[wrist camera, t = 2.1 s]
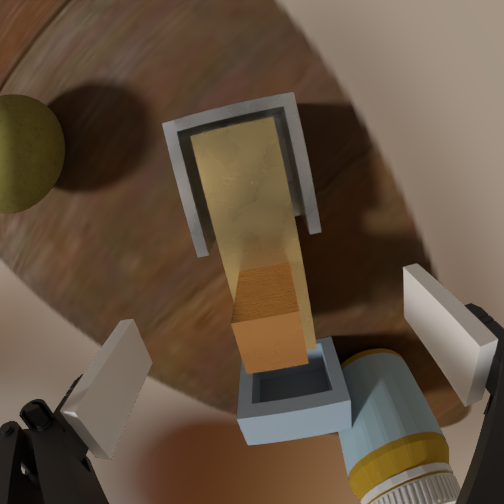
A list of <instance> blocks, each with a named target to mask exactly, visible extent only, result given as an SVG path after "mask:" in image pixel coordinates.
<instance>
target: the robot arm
mask: <svg viewBox="0 0 504 504" xmlns="http://www.w3.org/2000/svg"><path fill="white" fill-rule="evenodd" d="M403 278H404V318H405V319H406V321H407V322H408V323H409V325H410V326H411V327H412V329H413V330H414V332H415V333H416V334H417V336H418V337H419V339H420V340H421V341H422V343H423V344H424V346H425V347H426V348H427V350H428V351H429V353H430V354H431V356H432V357H433V359H434V360H435V362H436V363H437V364H438V366H439V367H440V369H441V370H442V372H443V373H444V375H445V376H446V378H447V379H448V381H449V382H450V384H451V385H452V387H453V389H454V390H455V392H456V393H457V395H458V396H459V398H460V399H461V401H462V403H463V404H464V406H465V407H466V406H468V405H470V404H473V403H475V402H477V401H479V400H481V399H482V397H483V394H484V391H485V388H486V389H487V390H488V391H489V393H490V397H489V401H488V403H487V406H486V409H485V411H484V414H485V417H484V421H483V425H482V429H481V432H480V436H479V439H478V443H477V446H476V449H475V453H474V456H473V458H472V461H471V465H470V467H469V470H468V473H467V476H466V478H465V481H464V483H463V486H462V488H461V491H460V493H459V496H458V498H457V501H456V503H455V504H504V329H503V328H502V327H501V326H500V325H499V324H498V323H497V322H496V321H494V319H493V318H492V317H491V316H488V314H487V313H486V312H485V311H484V310H483V309H482V308H481V307H478V306H476V305H474V304H472V303H471V304H467V305H463V304H462V303H461V302H460V301H459V300H458V299H457V298H456V297H454V296H453V295H452V294H451V293H450V292H449V291H448V290H447V289H446V288H445V287H444V286H442V285H441V284H440V283H439V282H438V281H437V280H436V279H435V278H433V277H432V276H431V275H430V274H429V273H428V272H427V271H425V270H424V269H423V268H422V267H421V266H420V265H419V264H412V265H408V266H404V267H403ZM152 363H153V362H152V360H151V358H150V356H149V354H148V351H147V349H146V347H145V345H144V343H143V340H142V338H141V336H140V333H139V331H138V329H137V327H136V324H135V322H134V319H129V320H122V321H120V322H119V324H118V325H117V326H116V328H115V329H114V331H113V332H112V333H111V335H110V336H109V338H108V339H107V341H106V342H105V343H104V345H103V346H102V348H101V349H100V351H99V352H98V354H97V355H96V357H95V358H94V359H93V361H92V362H91V364H90V365H89V367H88V368H87V370H86V371H85V373H84V374H82V375H81V376H80V377H78V378H77V380H75V381H74V383H73V384H72V386H71V387H70V390H68V392H67V393H66V396H64V398H63V399H62V401H61V403H60V404H59V405H58V407H57V408H56V410H55V412H54V413H52V411H51V410H50V408H49V407H48V406H47V404H46V403H45V401H44V400H41V399H36V400H32V401H30V402H29V403H27V404H26V405H25V406H24V407H23V408H22V410H21V412H20V417H21V418H22V420H23V421H24V422H25V424H26V425H27V426H28V428H29V429H23V430H22V428H21V427H20V426H19V424H18V423H17V422H15V421H10V422H7V423H5V424H3V425H2V426H1V428H0V504H109V502H108V501H107V498H106V496H105V494H104V492H103V490H102V488H101V485H100V483H99V481H98V478H97V476H96V474H95V471H94V469H93V467H92V465H91V462H90V460H89V459H88V457H87V456H86V454H87V451H88V449H89V450H90V451H91V452H92V453H93V455H94V456H95V457H96V458H101V459H110V460H111V459H112V457H113V454H114V451H115V449H116V447H117V444H118V442H119V440H120V437H121V434H122V432H123V430H124V427H125V425H126V423H127V420H128V418H129V416H130V413H131V411H132V409H133V406H134V404H135V402H136V399H137V397H138V395H139V392H140V390H141V388H142V386H143V383H144V381H145V379H146V377H147V374H148V372H149V370H150V368H151V365H152ZM21 466H22V467H23V468H24V469H25V474H23V473H22V471H21Z"/></svg>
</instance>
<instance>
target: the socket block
mask: <svg viewBox="0 0 504 504" xmlns="http://www.w3.org/2000/svg"><path fill="white" fill-rule="evenodd" d="M316 346H317V349H312V350H307V357H308V363H309V364H304V365H299V366H293V367H288V368H282V369H276V370H270V371H264V372H257V373H251V374H247V373H246V370H245V367H244V364H243V360H242V362H241V374H240V386H239V398H238V410H237V420H238V423H239V426H240V428H241V430H242V433H243V435H244V437H245V440H246V442H247V444H248V445H256V444H265V443H272V442H280V441H287V440H293V439H300V438H305V437H311V436H317V435H322V434H327V433H332V432H337V431H341V430H346V429H350V428H352V425H351V399H350V396H349V393H348V389H347V386H346V383H345V379H344V376H343V373H342V370H341V366H340V363H339V360H338V357H337V354H336V351H335V347H334V344H333V341H332V338H331V336H330V337H326V338H321V339H316Z"/></svg>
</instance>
